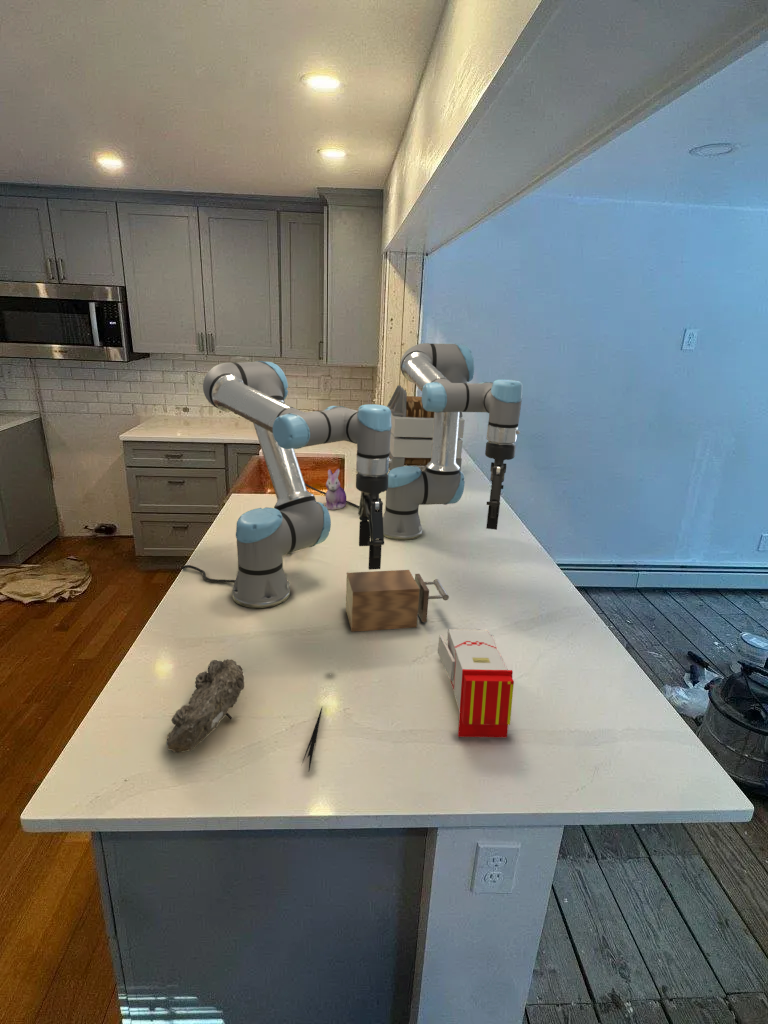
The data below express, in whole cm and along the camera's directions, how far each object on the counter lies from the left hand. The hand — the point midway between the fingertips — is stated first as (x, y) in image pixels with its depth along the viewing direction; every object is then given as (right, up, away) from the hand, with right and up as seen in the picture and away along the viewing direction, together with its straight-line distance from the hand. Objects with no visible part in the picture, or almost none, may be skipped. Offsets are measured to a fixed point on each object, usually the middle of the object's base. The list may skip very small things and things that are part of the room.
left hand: (369, 556), depth 139 cm
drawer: (+9, -15, +7) cm, 19 cm away
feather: (-9, -29, -30) cm, 43 cm away
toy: (+22, -27, -20) cm, 40 cm away
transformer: (+21, +30, +136) cm, 141 cm away
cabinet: (+3, -16, +6) cm, 18 cm away
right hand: (+33, +9, +13) cm, 37 cm away
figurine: (-16, +13, +86) cm, 88 cm away
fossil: (-29, -28, -30) cm, 51 cm away
